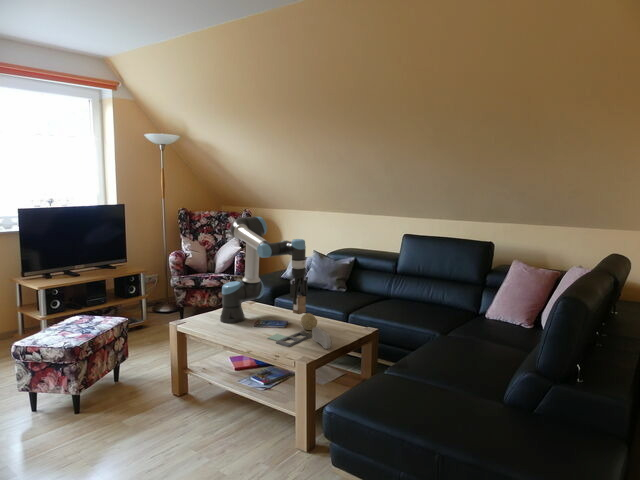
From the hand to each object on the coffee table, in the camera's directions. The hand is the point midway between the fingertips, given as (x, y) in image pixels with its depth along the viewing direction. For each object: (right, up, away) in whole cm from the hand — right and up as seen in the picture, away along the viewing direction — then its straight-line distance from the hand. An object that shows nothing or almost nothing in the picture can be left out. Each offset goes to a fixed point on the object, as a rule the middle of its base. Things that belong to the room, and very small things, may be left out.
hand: (299, 308), depth 268 cm
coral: (+5, -15, +16) cm, 22 cm away
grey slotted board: (-2, -17, -1) cm, 17 cm away
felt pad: (-12, -17, +2) cm, 21 cm away
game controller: (+12, -18, -9) cm, 24 cm away
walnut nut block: (0, -2, 0) cm, 2 cm away
